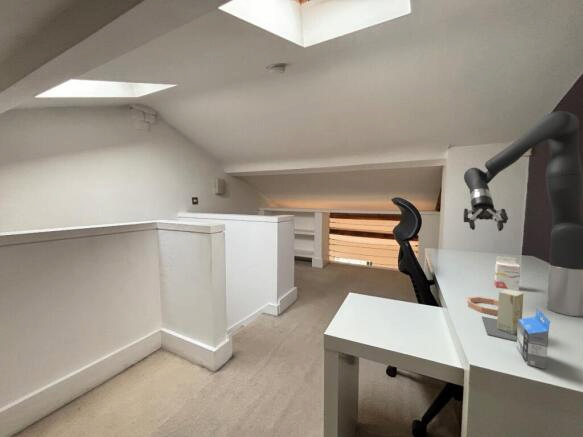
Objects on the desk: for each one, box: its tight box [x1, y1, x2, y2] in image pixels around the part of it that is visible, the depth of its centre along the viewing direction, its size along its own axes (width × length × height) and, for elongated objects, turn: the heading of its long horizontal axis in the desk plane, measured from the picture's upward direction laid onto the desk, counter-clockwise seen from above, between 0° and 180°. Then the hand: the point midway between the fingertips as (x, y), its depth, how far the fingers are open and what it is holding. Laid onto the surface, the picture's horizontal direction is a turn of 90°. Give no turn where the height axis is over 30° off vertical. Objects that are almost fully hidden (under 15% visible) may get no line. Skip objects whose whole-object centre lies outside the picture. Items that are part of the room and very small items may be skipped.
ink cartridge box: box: [493, 256, 521, 291], centre depth 117 cm, size 9×5×15 cm, turn 58°
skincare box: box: [497, 289, 524, 334], centre depth 77 cm, size 6×4×12 cm
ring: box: [466, 296, 499, 317], centre depth 94 cm, size 13×13×2 cm
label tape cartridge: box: [516, 308, 551, 370], centre depth 63 cm, size 9×4×12 cm, turn 150°
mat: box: [481, 315, 517, 343], centre depth 77 cm, size 12×14×1 cm
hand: (486, 229), depth 97 cm, fingers open, 8 cm apart
